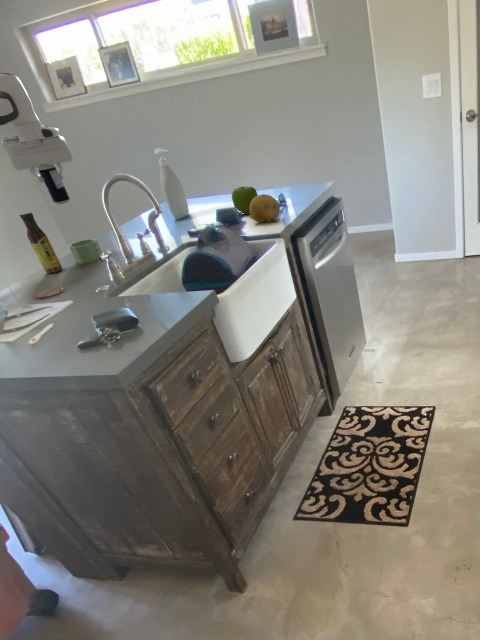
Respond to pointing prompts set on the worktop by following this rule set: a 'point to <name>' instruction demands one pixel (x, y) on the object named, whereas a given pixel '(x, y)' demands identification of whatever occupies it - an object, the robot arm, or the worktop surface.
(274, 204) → the potato
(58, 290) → the coaster
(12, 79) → the robot arm
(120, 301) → the worktop surface
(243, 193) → the apple
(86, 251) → the green bowl
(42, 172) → the beverage can
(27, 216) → the sauce bottle
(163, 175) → the soap bottle
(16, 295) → the worktop surface
